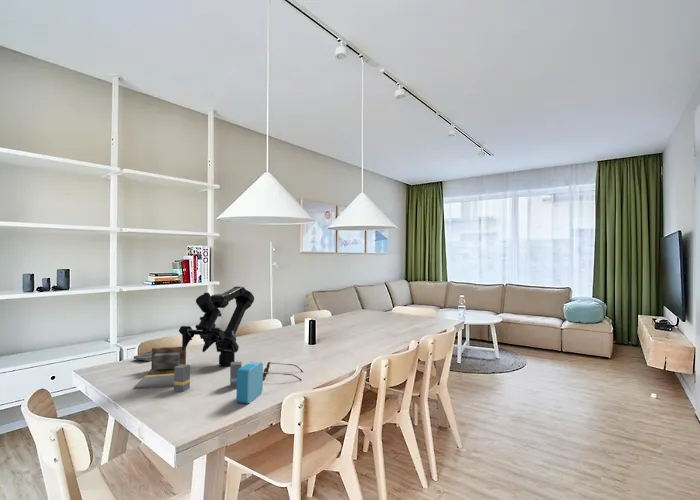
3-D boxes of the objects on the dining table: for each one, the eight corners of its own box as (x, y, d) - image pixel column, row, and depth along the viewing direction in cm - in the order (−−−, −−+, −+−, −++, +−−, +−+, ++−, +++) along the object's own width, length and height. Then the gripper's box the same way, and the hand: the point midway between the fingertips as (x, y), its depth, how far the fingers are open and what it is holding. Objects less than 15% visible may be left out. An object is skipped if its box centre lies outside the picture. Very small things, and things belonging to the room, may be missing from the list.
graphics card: (158, 346, 196) (174, 348, 191) (158, 353, 196) (175, 355, 191) (128, 354, 181) (145, 356, 176) (128, 362, 181) (145, 364, 176)
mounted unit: (186, 367, 170) (186, 345, 170) (182, 372, 163) (183, 349, 163) (152, 369, 167) (153, 347, 167) (147, 374, 160) (148, 351, 160)
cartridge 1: (180, 387, 145) (181, 364, 145) (190, 387, 144) (190, 364, 145) (173, 390, 141) (174, 367, 141) (183, 391, 140) (183, 368, 141)
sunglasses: (267, 372, 166) (268, 361, 166) (303, 374, 167) (304, 363, 167) (262, 382, 152) (263, 370, 152) (301, 384, 153) (302, 372, 153)
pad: (181, 375, 159) (181, 373, 159) (173, 386, 146) (173, 384, 146) (145, 377, 156) (145, 375, 156) (134, 388, 143) (134, 386, 143)
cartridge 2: (241, 383, 150) (241, 361, 150) (240, 387, 146) (241, 364, 146) (230, 384, 149) (231, 362, 149) (230, 387, 145) (230, 365, 145)
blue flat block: (251, 391, 141) (252, 360, 142) (262, 392, 140) (263, 361, 141) (236, 403, 130) (236, 369, 130) (247, 405, 129) (248, 370, 129)
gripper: (235, 330, 164) (221, 362, 153) (197, 328, 168) (181, 359, 157) (226, 315, 156) (210, 348, 145) (187, 313, 160) (169, 345, 149)
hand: (192, 350), depth 149 cm, fingers open, 9 cm apart
